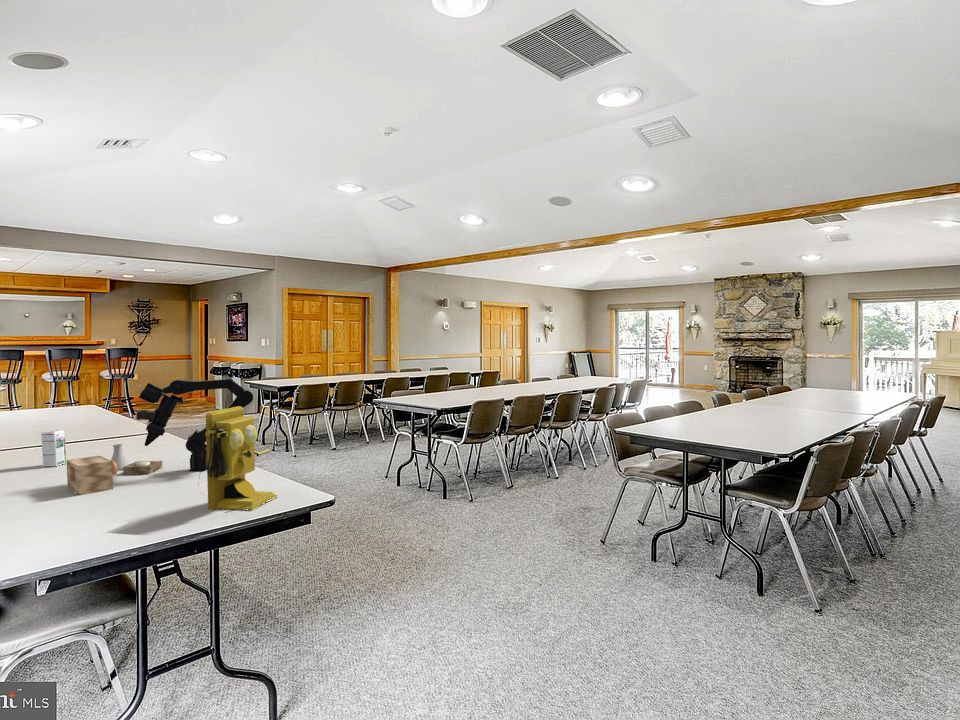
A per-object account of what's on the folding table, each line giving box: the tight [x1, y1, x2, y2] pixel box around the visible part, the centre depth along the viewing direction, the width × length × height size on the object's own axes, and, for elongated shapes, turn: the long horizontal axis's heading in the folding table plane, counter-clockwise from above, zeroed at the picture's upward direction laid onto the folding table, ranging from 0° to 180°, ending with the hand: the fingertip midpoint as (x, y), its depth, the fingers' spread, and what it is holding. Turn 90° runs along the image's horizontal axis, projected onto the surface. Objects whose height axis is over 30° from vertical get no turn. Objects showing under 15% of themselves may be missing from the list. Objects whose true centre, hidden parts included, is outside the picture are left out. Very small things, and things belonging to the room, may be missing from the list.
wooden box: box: [66, 455, 114, 496], centre depth 203 cm, size 10×14×10 cm
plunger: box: [112, 461, 118, 476], centre depth 206 cm, size 8×5×5 cm, turn 139°
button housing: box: [122, 460, 163, 475], centre depth 229 cm, size 10×10×3 cm
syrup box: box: [40, 429, 67, 468], centre depth 241 cm, size 6×6×14 cm
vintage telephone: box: [198, 406, 279, 514], centre depth 183 cm, size 31×14×30 cm, turn 170°
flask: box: [110, 443, 129, 471], centre depth 233 cm, size 7×7×10 cm
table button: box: [136, 462, 150, 466], centre depth 229 cm, size 5×5×3 cm
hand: (145, 445), depth 224 cm, fingers closed
